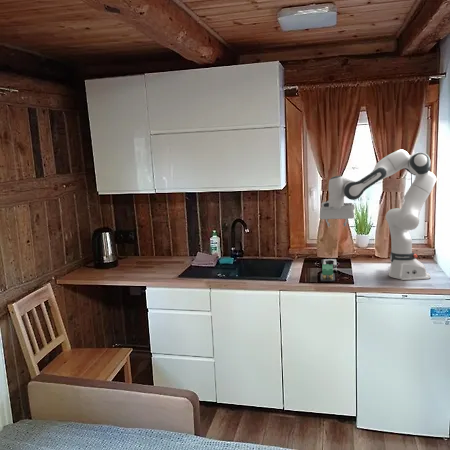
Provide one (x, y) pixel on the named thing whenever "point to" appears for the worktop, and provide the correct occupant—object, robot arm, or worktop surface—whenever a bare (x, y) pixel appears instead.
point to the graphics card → (334, 262)
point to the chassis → (328, 277)
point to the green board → (327, 269)
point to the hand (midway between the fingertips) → (336, 226)
